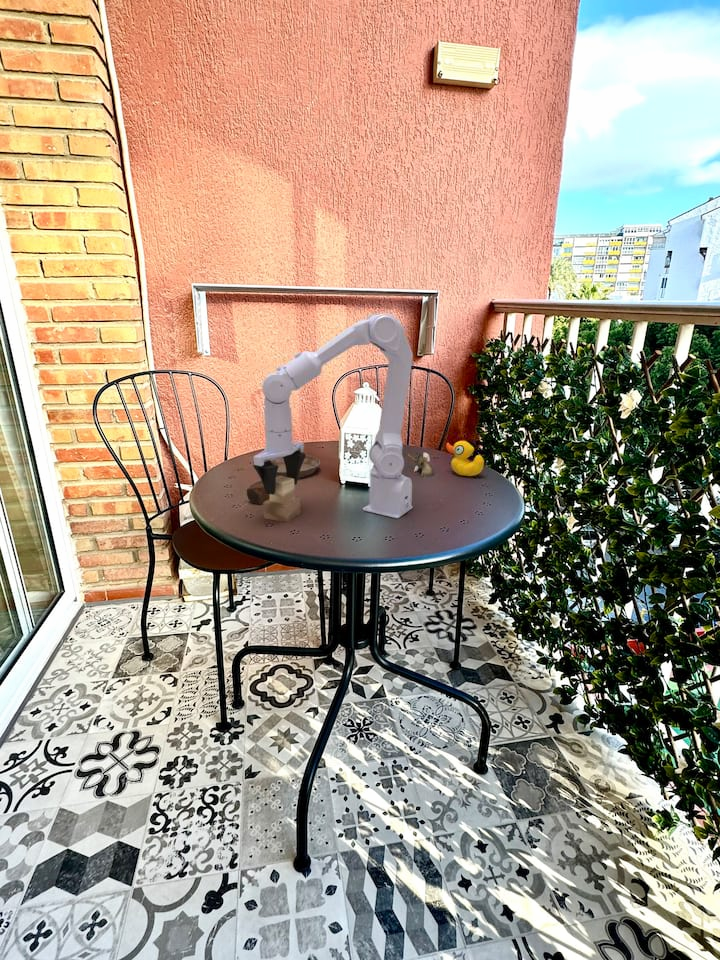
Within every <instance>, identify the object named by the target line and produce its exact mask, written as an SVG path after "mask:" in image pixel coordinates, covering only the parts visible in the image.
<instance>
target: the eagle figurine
mask: <svg viewBox="0 0 720 960" xmlns="http://www.w3.org/2000/svg"><path fill="white" fill-rule="evenodd" d="M407 457H409V458H410V459H411V460H412V461H414V463H415V467H414V470H413V473H415V472H417V471H418V470H419V469H420V468H421V473H420V475H421V477H424V478H429V477H432V476H434V473H435V471H434V468H433V467H432V465H431V464H430V463H429V462H430V461H431V459H430V455H429V453H427V452H418V454H417V455H416V453H415V454H414V455H413V456H411V455H410V453H407Z"/></svg>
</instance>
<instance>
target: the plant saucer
mask: <svg viewBox="0 0 720 960" xmlns="http://www.w3.org/2000/svg"><path fill="white" fill-rule="evenodd" d="M271 463H273V465H277V466H279V467H278V470H277V474H276V475H279V476H284V477H287V473H286V466H285V462H284V459H283V457H282V458H279V459H276V460H273V461H271ZM320 464H321V460H320V459H318V458H317V457H314V456H311V455H306V458H305V459H304V461H303V463H302V466H301V468H300V472H299V476H298V479H300V477H301V478H304V476H305V477H307V476H310V475H312V474H314V473H315V471H317V469H318V467H320Z"/></svg>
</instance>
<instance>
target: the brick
mask: <svg viewBox="0 0 720 960" xmlns="http://www.w3.org/2000/svg"><path fill="white" fill-rule="evenodd" d="M276 477H279V475H276ZM246 496H247V499H248V500H249V502H250V503H251V504H253V503H255V505H263V503H264V502H265V501H267V500H269V499H270V494H268V493H266V491H265V488H264V485H263V483H262V480H258V481H257V482H254V483H252V484H250V486H249V488H247V489H246Z"/></svg>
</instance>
